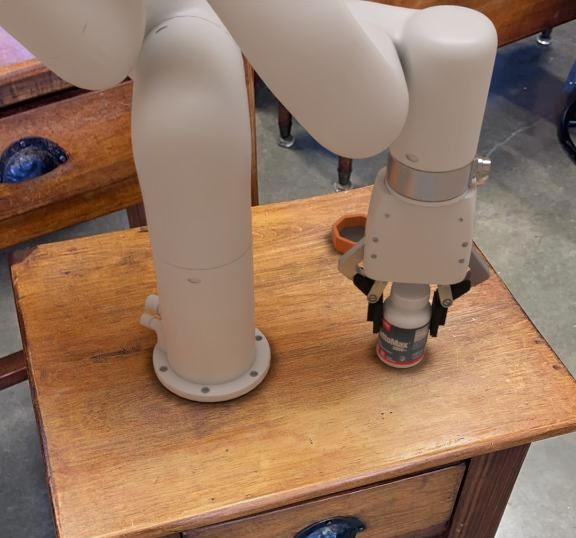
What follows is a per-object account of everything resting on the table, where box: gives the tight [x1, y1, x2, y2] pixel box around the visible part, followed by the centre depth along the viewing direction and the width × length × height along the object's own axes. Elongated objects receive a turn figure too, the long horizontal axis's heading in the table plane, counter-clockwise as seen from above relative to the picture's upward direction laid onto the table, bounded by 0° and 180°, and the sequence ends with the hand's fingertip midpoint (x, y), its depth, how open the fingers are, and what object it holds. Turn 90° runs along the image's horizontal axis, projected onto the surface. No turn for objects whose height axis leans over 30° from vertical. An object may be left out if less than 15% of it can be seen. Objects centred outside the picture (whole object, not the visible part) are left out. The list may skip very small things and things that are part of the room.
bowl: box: [330, 213, 367, 254], centre depth 101 cm, size 6×6×2 cm
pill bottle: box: [376, 282, 432, 369], centre depth 87 cm, size 5×5×9 cm
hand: (404, 325), depth 87 cm, fingers closed on pill bottle, 5 cm apart
